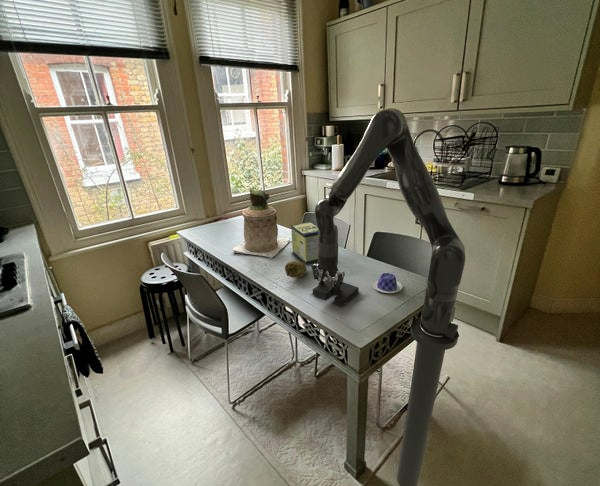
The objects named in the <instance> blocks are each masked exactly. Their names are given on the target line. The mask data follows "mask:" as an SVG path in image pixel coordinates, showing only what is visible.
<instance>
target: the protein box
mask: <svg viewBox="0 0 600 486" xmlns="http://www.w3.org/2000/svg"><path fill="white" fill-rule="evenodd" d="M290 227H291V245H292V246H291V249H292V254H293V255H294V256H295V257H296V258H298V259H299V260H300V262H303V263H305V265H309V264H312V263H313V264H314V263H318V250H317V247H318V228H317V225H315V224H313V223H312V222H310V221H307V222H302V223H296V224H291V225H290Z"/></svg>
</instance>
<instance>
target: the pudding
mask: <svg viewBox="0 0 600 486" xmlns="http://www.w3.org/2000/svg"><path fill="white" fill-rule="evenodd" d="M371 285H372V287H373V289H375V290H376V291H378V292H381V293H386V294H395V293H398V292H401V290H402V289H403V284H402V283H401V282H399V281H398V280H397V277H396V275H394V274H393V273H390V272H384V273H381V274H380V275H379V278H378V279H375V280H373V281H372V283H371Z"/></svg>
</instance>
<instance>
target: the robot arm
mask: <svg viewBox="0 0 600 486" xmlns="http://www.w3.org/2000/svg"><path fill="white" fill-rule="evenodd" d="M409 127H410V126H409V125H408V121H407V118H406V115H405V114H404V113H403V112H402V111H401V110H400V109H397V108H393V107H389V108H384V109H381V110H379V111H377V112H376V113H375V114H374V115H373V116H372V118H371V120H370V122H369V124H368V126H367V128H366V130H365V132H364V134H363V136H362V139H361V141H360V142H359V144H358V146H357V147H356V149H355V151H354V153H353V154H352V156H351V157H350V158H349V160H347V163H346V164H345V166H344V167H343V168H342V170H340V173H339V174H338V176H336V178H335V180H334V181H333V183H332V184H331V186H330V191H329V193H328V194H327V196H325V197H324V198H323V199H321V200H319V201H318V202H317V203H316V204H315V207H314V219H315V224H316V226H317V228H318V247H317V250H318V261H317V262H314V263H313V264H312V265H311V266H310V267H311V271H312V276H313V279H314V280H315V281H317V282H318V285H319V286H321V285H322V284H324V281H325V278H327V279H329V282H331V286H332V287H331V295H332V297H333V296H334V297H335V295H337V294H336V293H337V288H338V287H339V286H341V285H342V282H344V279H345V275H346V274H345V272H344V271H342V272H341V271H340V270H339V268H338V264H339V229H338V226H337V224H335V220H334V219H335V216H337V215H338V214H340V212H341V211H342V210H343V208H344V207H345V205H346V203H347V202H348V200H349V198H350V197H351V196H352V195H353V194H354V192H355V191H356V189H358V186H359V185H360V184H361V183H362V181H363V179H364V178H365V176H366V175H367V172H368V171H369V170H370V167H371V166H372V164H373V163H374V162H375V161H376V160H377V159H378V157H379V156H380V155H381V154H382V153H383V152H384V151H385V150H387V153H388V154H389V156H390V158H391V160H392V163H393V165H394V170H395V171H394V172H395V176H396V180H397V184H398V188H399V190H400V193H401V195H402V197H403V199H404V202H405V203H406V205H407V207H408V209H409V210H410V212H411V213H412V215H413V216H414V217H415V219H416V220H417V221H418V222H419V223H420V224H421V225H422V227H423V229H424V231H425V233H426V235H427V238H428V240H429V243H430V246H431V256H430V262H429V269H428V275H427V281H426V287H425V294H424V298H423V299H424V301H423V305H422V313H421V317H422V318H421V323H420V329H421V331H422V332H423V333H424V334H426V335H427V336H430V337H433V338H442V339H446V338H447V337H450V338H451V339H457V338H458V339H459V337H460V334H459V331H458V329H459V324H456V323H454V317H455V313H456V308H457V307H456V301H457V295H458V291H459V287H460V284H461V282H462V278H463V273H464V268H465V264H466V249H465V246H464V243H463V242H462V240H461V239H460V236H458V233H457V232H456V231H455V228H454V227H453V226H452V224H451V222H450V220H449V218H448V215H447V212H446V209H445V206H444V202H443V200H442V198H441V195H440V193H439V190H438V188H437V187H436V183H435V181H434V179H433V177H432V176H431V173H430V172H429V170H428V168H427V166H426V164H425V162H424V160H423V159H422V156H421V155H420V154H419V151H418V149H417V147H416V145H415V142H414V140H413V137H412V134H411V131H410V128H409ZM457 331H458V332H457ZM455 335H456V336H455Z"/></svg>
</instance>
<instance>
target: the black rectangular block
mask: <svg viewBox="0 0 600 486" xmlns="http://www.w3.org/2000/svg"><path fill="white" fill-rule="evenodd" d="M331 287H332V286H331V282H329V280H328V281H327V282H325V283H324V284H322V285H321V286H319V287H318V288H317V289H315V295H314V297H315V298H317V299H320V300H321V301H324V302H325V301H327V300H329V299H330V298H331V297H333V295H331ZM339 290H340V286H339V287H338V288H337V292H338V291H339Z"/></svg>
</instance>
